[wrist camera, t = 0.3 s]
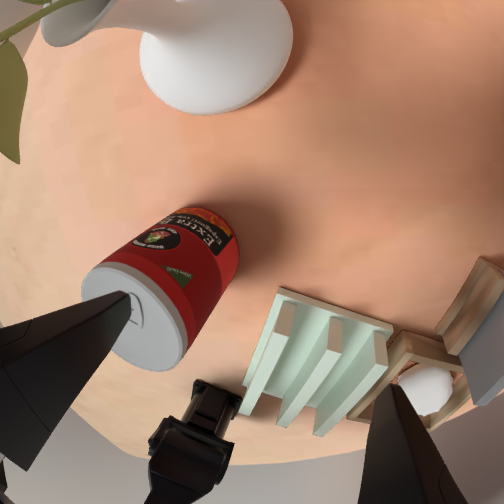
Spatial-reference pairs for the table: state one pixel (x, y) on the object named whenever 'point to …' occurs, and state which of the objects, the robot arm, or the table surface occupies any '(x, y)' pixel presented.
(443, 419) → the garlic trivet frame
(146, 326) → the canned food
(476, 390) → the plate
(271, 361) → the dish rack
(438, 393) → the garlic
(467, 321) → the plate stand
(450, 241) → the table surface
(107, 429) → the table surface
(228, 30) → the flower in vase
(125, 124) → the table surface
